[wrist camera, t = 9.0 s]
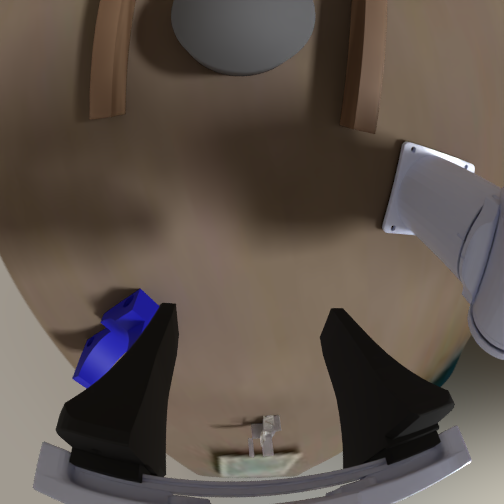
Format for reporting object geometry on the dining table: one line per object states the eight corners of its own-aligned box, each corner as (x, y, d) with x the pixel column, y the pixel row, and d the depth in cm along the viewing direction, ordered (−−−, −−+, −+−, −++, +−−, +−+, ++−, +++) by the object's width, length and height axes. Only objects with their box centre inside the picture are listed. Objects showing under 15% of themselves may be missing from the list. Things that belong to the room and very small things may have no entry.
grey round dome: (305, -12, 12) (319, -30, 9) (295, 82, 16) (308, 79, 13) (189, -21, 11) (181, -41, 8) (176, 75, 15) (164, 70, 12)
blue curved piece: (140, 287, 24) (123, 336, 19) (173, 317, 26) (164, 366, 21) (78, 330, 27) (61, 370, 21) (106, 353, 29) (93, 393, 24)
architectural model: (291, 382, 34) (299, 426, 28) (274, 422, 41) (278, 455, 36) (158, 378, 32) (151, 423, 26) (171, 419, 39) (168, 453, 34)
